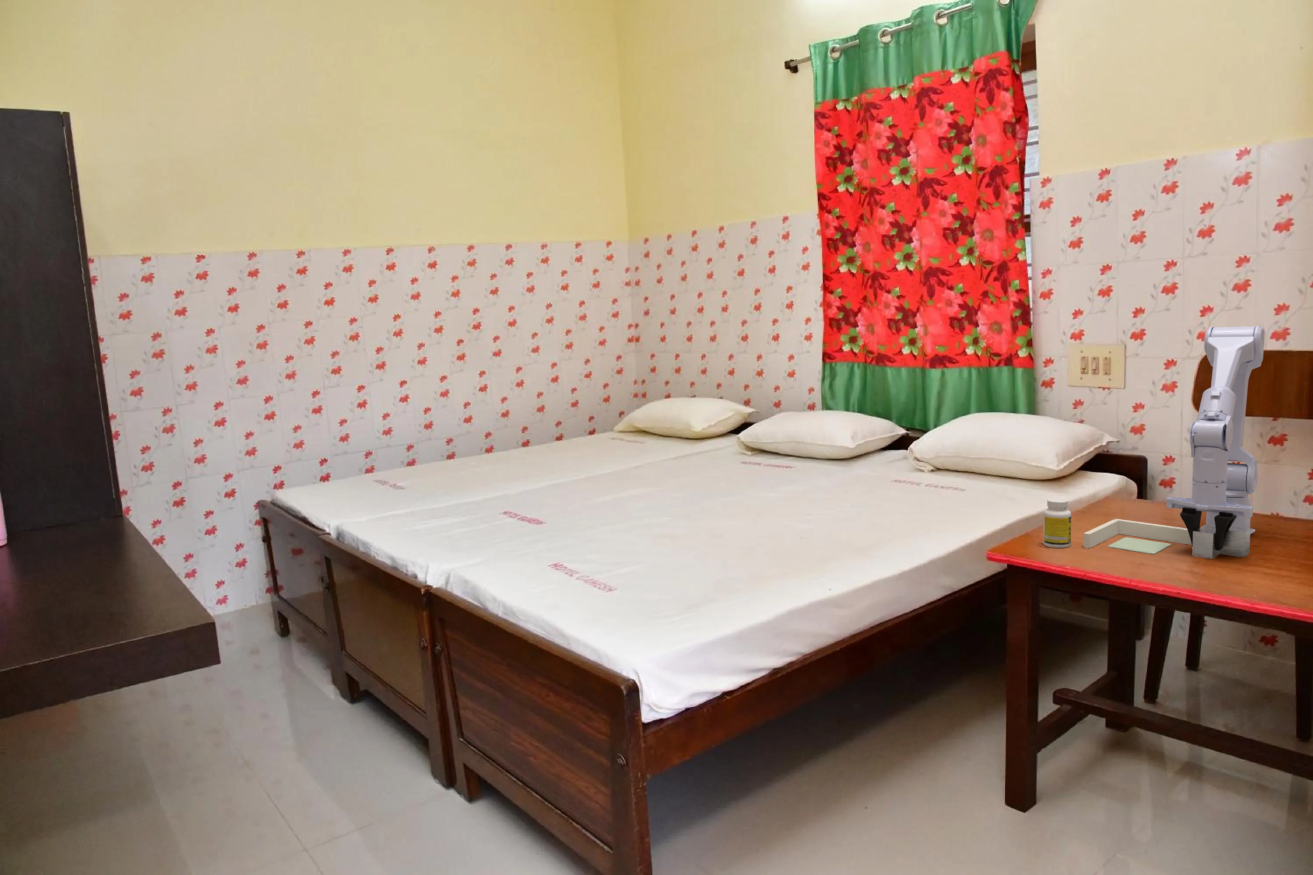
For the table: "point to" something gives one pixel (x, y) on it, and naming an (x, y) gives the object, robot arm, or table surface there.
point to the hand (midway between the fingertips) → (1206, 547)
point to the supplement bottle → (1057, 524)
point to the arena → (1135, 532)
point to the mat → (1139, 545)
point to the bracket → (1233, 544)
